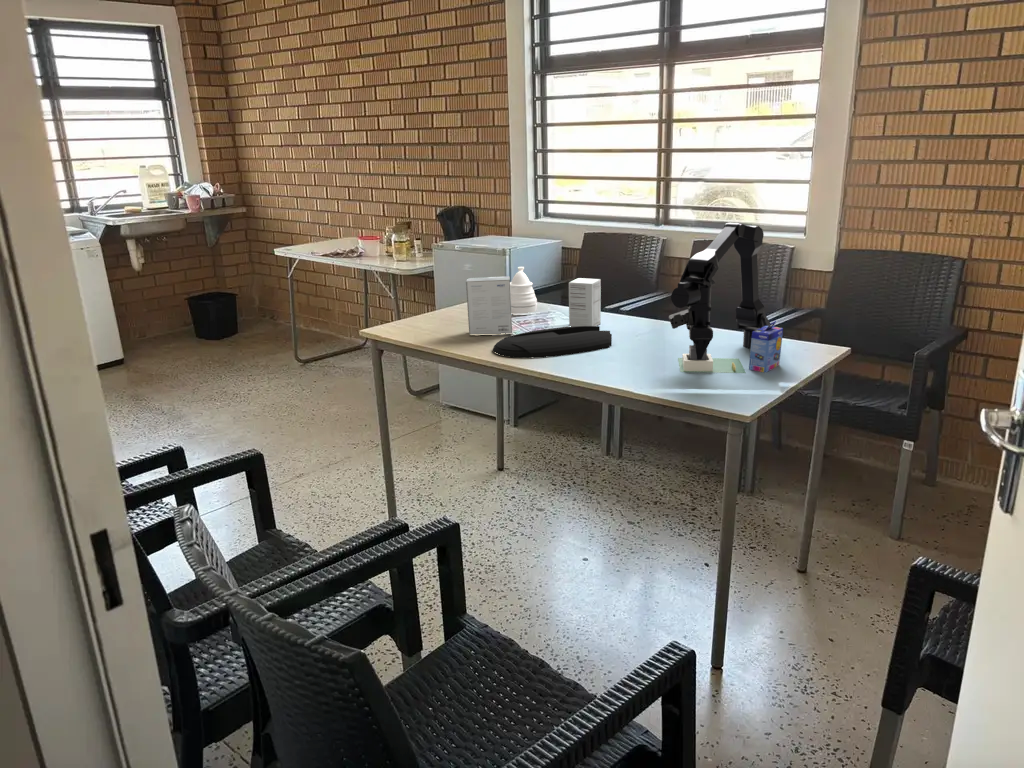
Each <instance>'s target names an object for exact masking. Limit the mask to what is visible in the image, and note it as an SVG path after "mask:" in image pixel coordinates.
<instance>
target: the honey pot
mask: <svg viewBox="0 0 1024 768" xmlns="http://www.w3.org/2000/svg"><path fill="white" fill-rule="evenodd" d="M524 270H525V266H518V267H517V272H516V273H515V274H514V276H513V278H512V279H511V281H510V293H511V313H528V312H534V311H536V310H537V311H538V299H537V297H536V294H535V290H534V288H533V282H532V281H530V279H529V277H528V276H527V275H526V273H525V272H524Z"/></svg>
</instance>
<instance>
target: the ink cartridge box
mask: <svg viewBox="0 0 1024 768" xmlns="http://www.w3.org/2000/svg"><path fill="white" fill-rule="evenodd" d="M776 322H777V320H775V321H772V322H770V325H769V326H764V327H762V328H760V329H757V330H755V331H753V332H752V338H751V349H749V350H750V352H749V362H748V370H749V371H750V370H751V371H755V372H761V373H767V372H769V371H771V370H773V369H775V368H777V367H778V366H780V362H781V361H780V359H781V353H782V343H783V335H784V334H783V333H784V328H783V327H780V326H779V327H778V326H775V324H776Z"/></svg>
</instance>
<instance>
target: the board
mask: <svg viewBox="0 0 1024 768" xmlns="http://www.w3.org/2000/svg"><path fill="white" fill-rule="evenodd" d="M712 359H713V371H684V369H683V364H682V357H677V362H678V366H679V371H680V373H704V374H705V373H706V374H707V373H709V374H710V373H713V374H715V373H716V374H717V373H720V374H729V373H730V374H746V373H747V371H746V370H745V367H744V366H743V364H742V362H741V360H740V358H737V357H736V358H735V357H734V358H730V357H728V358H727V357H726V358H724V357H723V358H721V357H719V358H717V357H716V358H715V357H712Z"/></svg>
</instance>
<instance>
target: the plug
mask: <svg viewBox="0 0 1024 768" xmlns="http://www.w3.org/2000/svg"><path fill="white" fill-rule="evenodd" d="M688 349H689V350H688V354H689V360H697V356H696V349H695V345H694V344H693V345H692V344H691V345H689V347H688ZM707 354H708V349H706V351H705V353H704V355H703V357H702V359H701V360H706V359H707Z"/></svg>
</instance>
